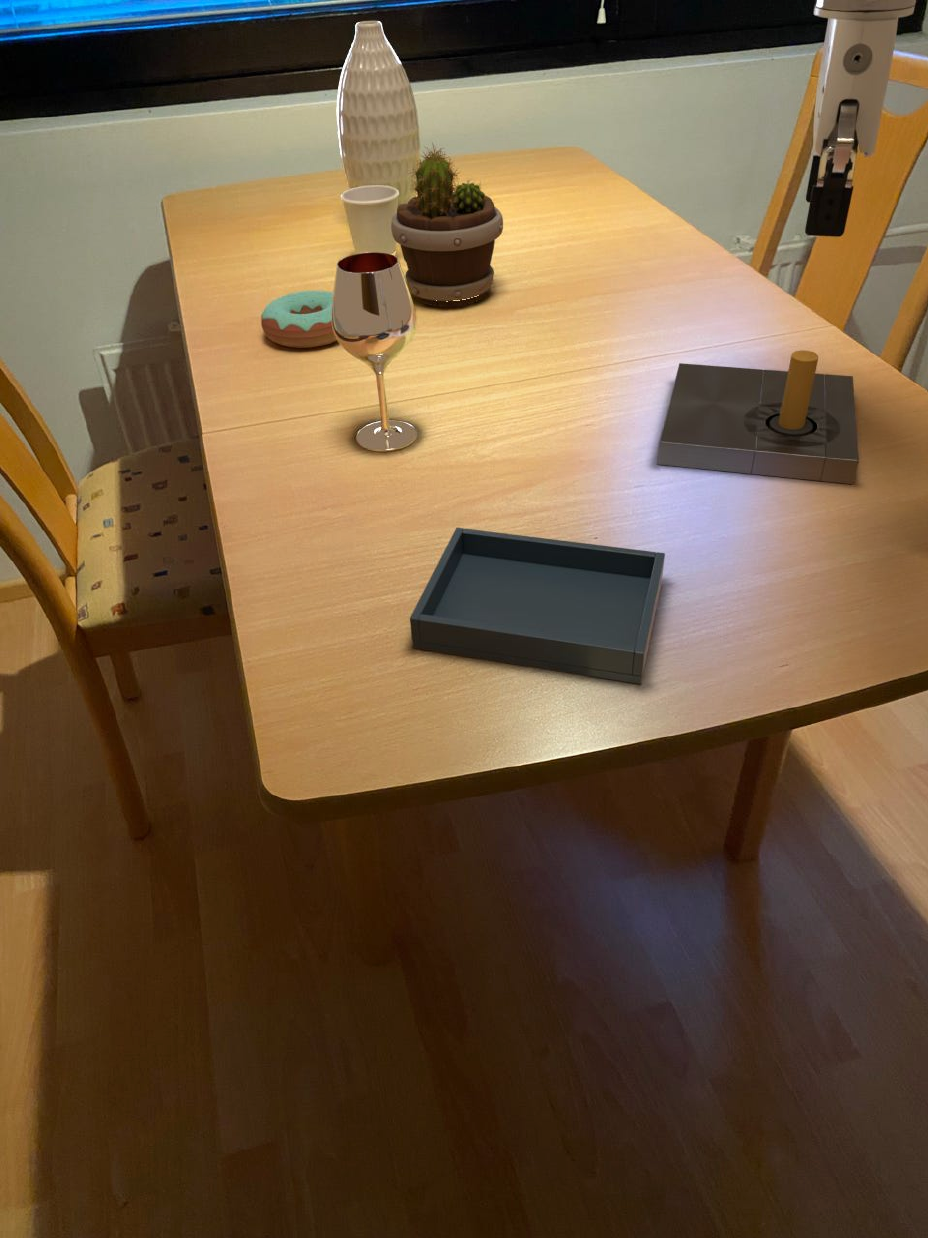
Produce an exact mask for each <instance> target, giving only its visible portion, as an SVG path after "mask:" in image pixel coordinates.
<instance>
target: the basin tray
mask: <svg viewBox="0 0 928 1238" xmlns="http://www.w3.org/2000/svg"><path fill="white" fill-rule="evenodd" d="M665 557H666V553H665V552H658V551H657V552H656V551H650V550H643V549H633V548H626V547H617V546H611V545H603V544H593V543H586V542H577V541H569V540H561V539H555V538H545V537H537V536H531V535H530V536H529V535H522V534H513V533H506V532H498V531H497V532H496V531H489V530H481V529H474V528H464V527H455V529H454V532H453V533H452V535H451V537H450V539H449V541H448V543H447V545H446V547H445V548H444V551H443V553H442V554H441V557H440V559H439V560H438V562H437V564H436V566H435V568H434V571H433V572H432V574H431V575H430V578H429V580H428V582H427V584H426V585H425V588H424V590H423V591H422V594H421V596H420V597H419V599H418V601H417V603H416V605H415V607H414V608H413V611H412V613H411V615H410V617H409V625H410V632H411V642H412V643H411V644H412V648H413V649H418V650H424V651H429V652H436V653H442V654H449V655H455V656H462V657H468V658H473V659H481V660H486V661H493V662H499V663H503V664H505V663H506V664H510V665H519V666H524V667H530V668H536V669H543V670H548V671H556V672H562V673H568V674H575V675H581V676H588V677H592V678H598V679H599V678H600V679H607V680H612V681H619V682H625V683H631V684H636V685H641V684H642V682H643V678H644V673H645V667H646V662H647V657H648V652H649V647H650V642H651V637H652V632H653V628H654V623H655V619H656V618H655V617H656V613H657V607H658V603H659V598H660V594H661V589H662V584H663V575H664V567H665V566H664V565H665Z"/></svg>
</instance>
